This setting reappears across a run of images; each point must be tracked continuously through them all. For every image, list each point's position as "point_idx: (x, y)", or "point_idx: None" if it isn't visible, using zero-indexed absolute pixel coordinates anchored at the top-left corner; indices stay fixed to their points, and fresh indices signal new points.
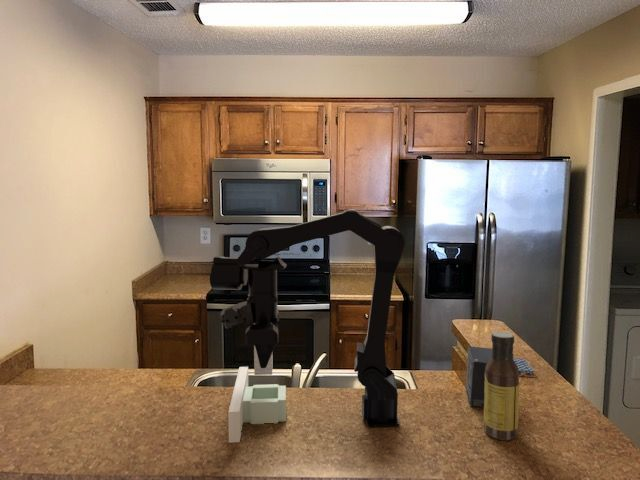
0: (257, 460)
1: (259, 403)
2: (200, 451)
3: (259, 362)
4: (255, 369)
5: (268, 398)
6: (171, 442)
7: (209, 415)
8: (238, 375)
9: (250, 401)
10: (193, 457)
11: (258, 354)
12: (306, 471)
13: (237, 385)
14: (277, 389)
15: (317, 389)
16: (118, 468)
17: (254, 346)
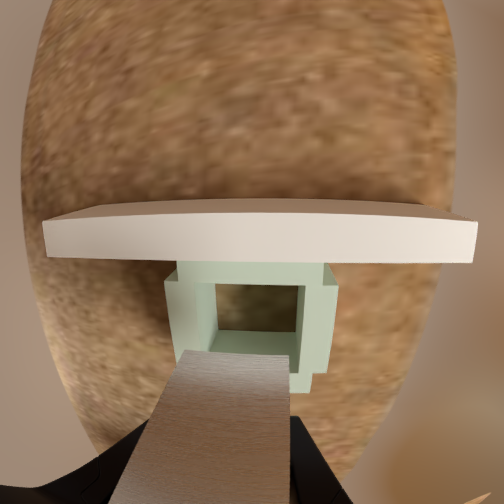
0: (56, 275)
1: (168, 310)
2: (71, 145)
3: (143, 424)
4: (174, 374)
5: (298, 320)
6: (110, 62)
7: (254, 112)
8: (390, 222)
9: (179, 279)
10: (55, 138)
11: (100, 459)
12: (54, 349)
13: (259, 226)
14: (298, 365)
15: (381, 410)
16: (53, 25)
17: (115, 494)
